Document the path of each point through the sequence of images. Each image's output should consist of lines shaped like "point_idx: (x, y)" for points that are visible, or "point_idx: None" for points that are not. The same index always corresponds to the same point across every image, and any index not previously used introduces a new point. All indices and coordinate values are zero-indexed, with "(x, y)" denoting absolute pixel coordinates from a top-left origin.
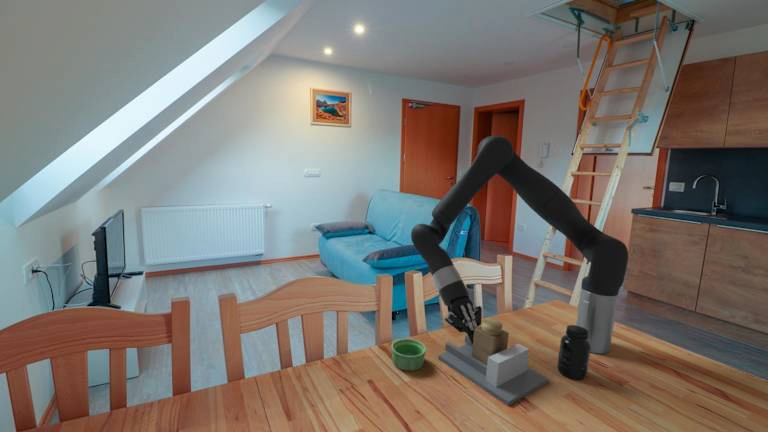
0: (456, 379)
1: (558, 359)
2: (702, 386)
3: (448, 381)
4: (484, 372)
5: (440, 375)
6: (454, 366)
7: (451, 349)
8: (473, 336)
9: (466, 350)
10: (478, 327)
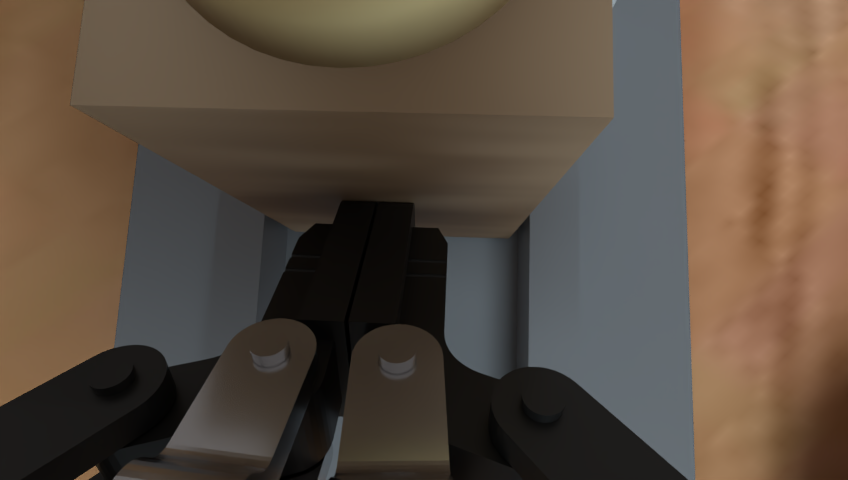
0: (755, 187)
1: None
2: None
3: (833, 204)
4: None
5: (837, 299)
6: (688, 287)
7: None
8: (427, 285)
9: None
10: (466, 109)
